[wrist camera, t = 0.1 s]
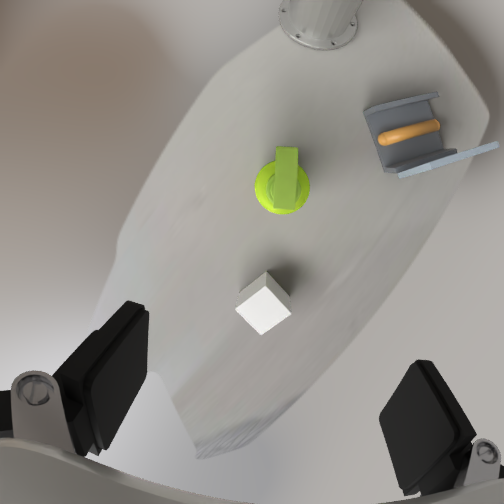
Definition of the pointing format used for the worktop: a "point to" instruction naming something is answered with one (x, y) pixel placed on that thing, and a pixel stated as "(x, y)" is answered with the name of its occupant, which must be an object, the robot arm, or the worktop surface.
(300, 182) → the soap dispenser
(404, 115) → the cable duct
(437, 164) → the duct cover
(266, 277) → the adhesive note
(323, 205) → the worktop surface
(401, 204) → the worktop surface
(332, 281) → the worktop surface
